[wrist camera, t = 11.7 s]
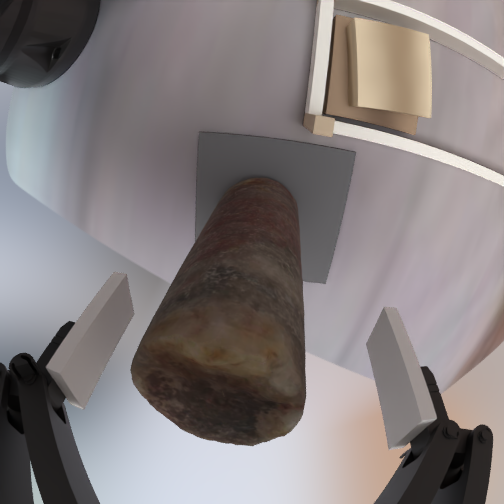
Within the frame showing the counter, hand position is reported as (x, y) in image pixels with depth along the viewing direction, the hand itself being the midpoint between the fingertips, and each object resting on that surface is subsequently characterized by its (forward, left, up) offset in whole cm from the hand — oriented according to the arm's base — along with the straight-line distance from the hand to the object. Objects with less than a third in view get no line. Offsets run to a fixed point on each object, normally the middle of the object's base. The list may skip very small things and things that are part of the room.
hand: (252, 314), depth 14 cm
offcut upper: (+8, +14, -13) cm, 21 cm away
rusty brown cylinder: (-1, 0, -15) cm, 15 cm away
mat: (0, 0, -15) cm, 15 cm away
